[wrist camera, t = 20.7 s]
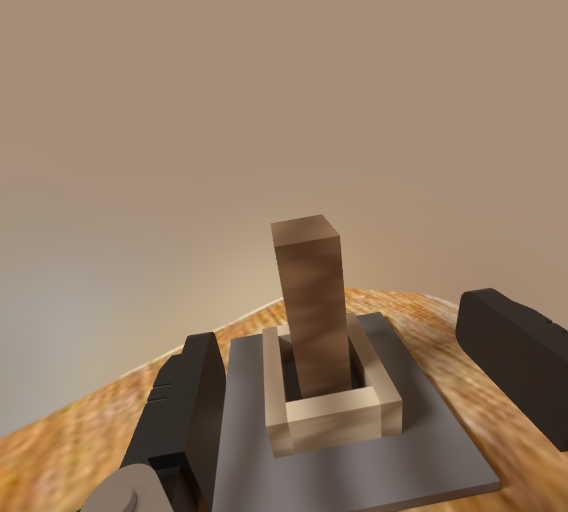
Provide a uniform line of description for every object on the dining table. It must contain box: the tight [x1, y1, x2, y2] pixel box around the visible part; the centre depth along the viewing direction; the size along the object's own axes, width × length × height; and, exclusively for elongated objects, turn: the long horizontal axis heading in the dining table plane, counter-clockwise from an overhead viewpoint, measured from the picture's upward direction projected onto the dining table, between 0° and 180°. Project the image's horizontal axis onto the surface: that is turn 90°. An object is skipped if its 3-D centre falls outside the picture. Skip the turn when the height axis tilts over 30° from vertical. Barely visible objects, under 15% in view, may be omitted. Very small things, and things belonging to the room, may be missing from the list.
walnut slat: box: [271, 215, 352, 400], centre depth 22 cm, size 4×5×15 cm
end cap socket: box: [212, 312, 501, 512], centre depth 25 cm, size 18×18×4 cm
